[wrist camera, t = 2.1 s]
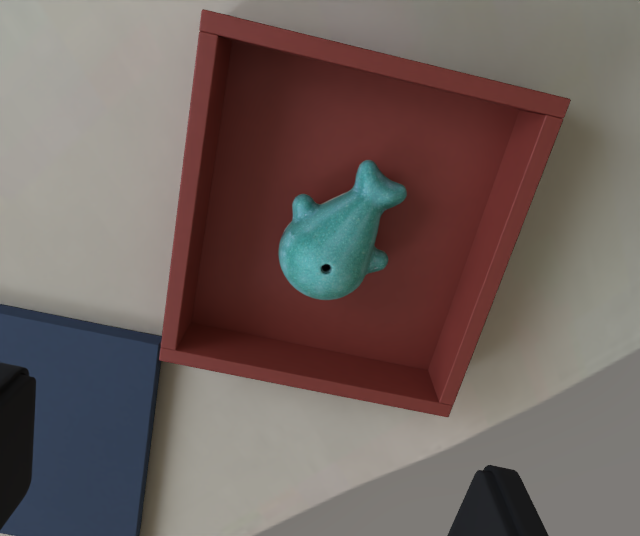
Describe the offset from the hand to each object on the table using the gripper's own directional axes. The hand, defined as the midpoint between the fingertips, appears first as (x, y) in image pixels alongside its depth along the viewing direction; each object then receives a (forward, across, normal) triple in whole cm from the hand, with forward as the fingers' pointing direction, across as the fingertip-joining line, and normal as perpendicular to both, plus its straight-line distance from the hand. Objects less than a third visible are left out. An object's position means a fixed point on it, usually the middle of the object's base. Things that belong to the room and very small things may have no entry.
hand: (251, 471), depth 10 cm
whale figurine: (+17, -2, -1) cm, 17 cm away
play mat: (+18, +12, +17) cm, 27 cm away
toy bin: (+17, -2, -1) cm, 18 cm away
